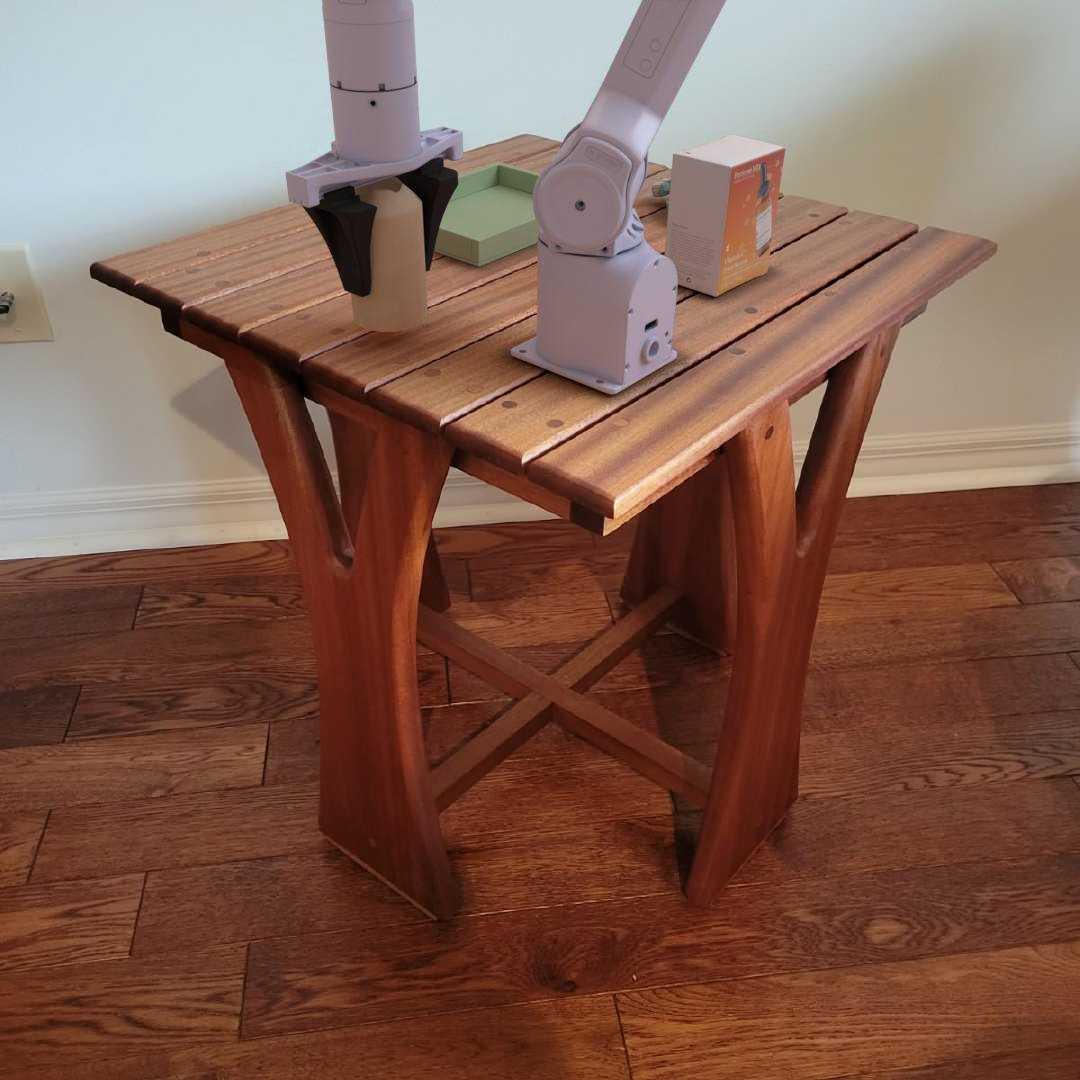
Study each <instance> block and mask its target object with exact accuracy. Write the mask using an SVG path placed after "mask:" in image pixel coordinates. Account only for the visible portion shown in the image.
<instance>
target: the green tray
mask: <svg viewBox="0 0 1080 1080" xmlns="http://www.w3.org/2000/svg"><path fill="white" fill-rule="evenodd" d="M540 174H541V172H537V171H534V170H530V169H526V168H523V167H519V166H516V165H512V164H509V163H505V162H501V161H495V162H491V163H489V164H486V165H483V166H480V167H476V168H473V169H470V170H467V171H465V172H462V173H458V186H457V188H456V190H455V191H454V193H453V195H452V197H451V199H450V201H449V203H448V205H447V207H446V210H445V212H444V215H443V218H442V221H441V224H440V227H439V231H438V235H437V239H436V244H435V248H434V253H438V254H440V255H443V256H447V257H449V258H452V259H455V260H458V261H460V262H463V263H467V264H469V265H472V266H475V267H477V268H480V267H483V266H484V265H487V264H489V263H492V262H495V261H497V260H500V259H502V258H504V257H506V256H509V255H511V254H513V253H516V252H519V251H521V250H523V249H525V248H528V247H530V246H533V245H535V244H538V225H539V224H538V222H537V220H536V217H535V214H534V209H533V191H534V187H535V183H536V181H537V179H538V177H539V175H540Z"/></svg>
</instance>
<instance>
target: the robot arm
mask: <svg viewBox="0 0 1080 1080" xmlns="http://www.w3.org/2000/svg"><path fill="white" fill-rule="evenodd" d="M321 2H322V5H321V10H322V11H321V12H322V18H323V30H324V40H325V50H326V61H327V71H328V81H329V82H328V83H329V92H330V100H331V110H332V111H331V112H332V122H333V130H334V131H333V132H334V140H333V141H331V142H330V148H331V150H329V151H327V152H325V153H324V154H322V155H320V156H318V157H317V158H314V159H313V160H311V161H309V162H308V163H305V164H304V165H302V166H299V167H297V168H293V169H291V170H288V171H286V172H285V180H286V187H287V196H288V202H289V203H293V204H295V205H298V206H301V207H302V208H303V210H304V211H305V212H306V214H307V215H308V216H309V218H310V219H311V221H312V222H313V224H314V225H315V227H316V228H317V230H318V232H319V234H320V235H321V237H322V239H323V241H324V242H325V244H326V247H327V249H328V251H329V254H330V255H331V257H332V260H333V263H334V266H335V268H336V270H337V271H336V272H337V274H338V276H339V279H340V281H341V284H342V288H343V291H345V292H348V293H350V294H351V293H352V294H355V295H357V296H360V297H365V296H367V295H370V290H371V263H370V245H371V235H372V228H373V223H374V219H375V215H376V211H377V207H376V206H375V205H372V204H369V203H366V202H363V201H360V195H355V189H356V188H359V187H362V186H365V185H368V184H372V183H375V182H378V181H381V180H384V179H387V178H390V177H396V178H398V179H399V180H400V181H401V182H402V183H403V184H404V185H405V186H406V187H408V188H409V189H410V190H411V191H413V192H414V193H415V194H416V195H417V196H418V197H419V198H420V199H421V201H422V212H423V230H424V249H425V268H426V273H427V272H429V271H431V267H432V263H433V257H434V253H435V252H434V248H435V244H436V239H437V235H438V231H439V227H440V224H441V221H442V218H443V215H444V212H445V210H446V207H447V205H448V203H449V201H450V199H451V197H452V195H453V193H454V191H455V190H456V188H457V186H458V174H459V172H458V171H457V170H456V169H454V168H450V167H446V166H445V161H447V160H448V161H450V162H455V161H459V160H462V159H464V133H463V131H462V130H459V129H455V128H451V127H447V126H444V125H443V126H438V127H435V128H430V129H425V130H421V124H420V122H421V121H420V105H419V84H418V83H419V82H418V69H417V68H418V67H417V66H418V65H417V51H416V49H417V48H416V47H417V46H416V29H415V11H414V9H415V8H414V2H413V0H321ZM726 2H727V0H641V2H640V4H639V6H638V8H637V10H636V12H635V14H634V16H633V18H632V20H631V23H630V24H629V27H628V29H627V31H626V33H625V35H624V37H623V39H622V41H621V43H620V45H619V47H618V50H617V51H616V54H615V56H614V58H613V60H612V62H611V64H610V66H609V69H608V70H607V73H606V75H605V77H604V79H603V81H602V83H601V85H600V87H599V89H598V91H597V93H596V94H595V97H594V99H592V100H593V101H592V102H591V104H590V106H589V108H588V111H587V112H586V114H585V116H584V118H583V119H582V120H581V121H580V122H578V123H577V124H576V125H574V126H573V127H572V128H571V129H570V130H569V131H568V133H567V134H566V135H565V137H564V138H563V141H562V142H561V144H560V146H559V150H558V152H557V153H556V155H555V156H554V157H553V159H552V160H551V161H550V162H549V163H548V164H547V165H546V166H544V167H543V169H542V171H541V172H540V173H541V174H540V175H539V177H538V179H537V181H536V183H535V187H534V191H533V209H534V214H535V217H536V220H537V222H538V224H539V225H538V243H537V260H536V261H537V262H536V263H537V265H536V266H537V273H536V279H537V280H536V335H535V336H534V337H532V338H529V339H527V340H525V341H523V342H521V343H519V344H517V345H515V346H513V347H512V348H510V355H511V356H512V357H514V358H516V359H519V360H521V361H524V362H525V363H526V362H527V363H529V364H531V365H534V366H537V367H539V368H542V369H543V370H547V371H549V372H552V373H554V374H557V375H559V376H561V377H565V378H567V379H569V380H572V381H575V382H577V383H580V384H582V385H585V386H587V387H590V388H592V389H595V390H597V391H600V392H602V393H605V394H607V395H616V394H619V393H620V392H622V391H624V390H626V389H627V388H629V387H630V386H632V385H633V384H635V383H637V382H639V381H640V380H642V379H644V378H645V377H647V376H649V375H651V374H653V373H654V372H656V371H657V370H659V369H661V368H662V367H664V366H666V365H667V364H669V363H671V362H673V361H675V360H676V359H678V352H677V350H675V349H673V342H674V332H675V321H676V320H675V319H676V309H677V300H678V299H677V298H678V289H679V288H678V287H679V285H678V276H677V271H676V267H675V265H674V263H673V262H672V260H670V259H669V258H667V257H665V256H664V255H663V254H661V253H660V252H658V251H657V250H655V249H653V247H652V246H651V245H649V243H648V242H647V240H646V239H645V238H644V237H645V226H644V224H643V223H641V219H640V217H639V215H638V213H637V211H636V208H635V207H633V206H634V203H635V201H636V199H637V196H638V194H639V193H640V192H641V191H642V188H643V186H644V184H645V183H646V180H647V177H648V171H649V150H650V148H651V146H652V144H653V142H654V140H655V139H656V136H657V135H658V132H659V131H660V128H661V126H662V124H663V122H664V120H665V118H666V116H667V115H668V113H669V111H670V109H671V108H672V107H671V106H672V105H673V103H674V101H675V99H676V98H677V96H678V94H679V92H680V90H681V89H682V86H683V84H684V82H685V80H686V79H687V76H688V75H689V73H690V70H691V69H692V67H693V65H694V63H695V61H696V60H697V57H698V56H699V54H700V52H701V51H702V48H703V46H704V44H705V42H706V40H707V39H708V36H709V35H710V33H711V31H712V29H713V27H714V25H715V23H716V21H717V20H718V18H719V16H720V14H721V13H722V10H723V9H724V7H725V4H726Z"/></svg>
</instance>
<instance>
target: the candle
mask: <svg viewBox="0 0 1080 1080" xmlns="http://www.w3.org/2000/svg"><path fill="white" fill-rule="evenodd" d="M355 195H360V201H363V202H366V203H369V204H372V205H375V206H376V207H377V211H376V215H375V219H374V223H373V228H372V235H371V245H370V263H371V290H370V295H367V296H365V297H360V296H357V295H355V294H352V293H350V299H351V300H350V301H351V309H352V316H353V320H354V322H355V323H356V325H358V326H359V327H361V328H363V329H365V330H368V331H373V332H379V333H380V332H381V333H394V332H402V331H406V330H411V329H413V328H417V327H418V326H421V325H422V324H423V323H425V321H426V320H427V318H428V291H427V287H428V286H427V272H426V268H425V249H424V230H423V212H422V201H421V199H420V198H419V197H418V196H417V195H416V194H415V193H414V192H413V191H411V190H410V189H409V188H408V187H406V186H405V185H404V184H403V183H402V182H401V181H400V180H399V179H398V178H396V177H390V178H387V179H384V180H381V181H378V182H375V183H372V184H368V185H365V186H362V187H359V188H356V189H355Z"/></svg>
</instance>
